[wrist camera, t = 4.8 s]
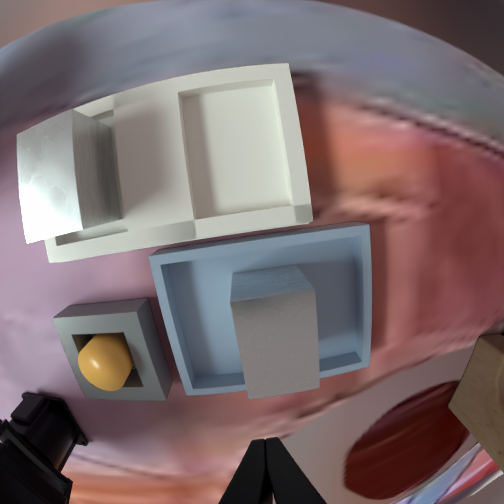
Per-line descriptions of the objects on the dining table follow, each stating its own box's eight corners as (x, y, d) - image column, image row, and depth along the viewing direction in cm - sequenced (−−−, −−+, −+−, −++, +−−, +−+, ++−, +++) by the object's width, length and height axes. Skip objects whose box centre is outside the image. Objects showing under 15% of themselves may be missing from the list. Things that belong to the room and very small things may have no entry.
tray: (360, 353, 20) (369, 366, 18) (190, 380, 20) (186, 395, 18) (357, 221, 18) (369, 224, 16) (157, 250, 18) (148, 256, 16)
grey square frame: (172, 380, 20) (166, 400, 18) (97, 381, 20) (86, 398, 18) (147, 297, 19) (136, 311, 16) (68, 305, 19) (52, 318, 16)
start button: (144, 367, 19) (132, 391, 16) (104, 368, 19) (89, 390, 16) (129, 325, 18) (114, 345, 16) (88, 327, 18) (70, 346, 15)
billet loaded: (122, 219, 17) (82, 229, 12) (72, 230, 17) (26, 243, 12) (111, 127, 15) (71, 108, 10) (62, 144, 15) (16, 134, 10)
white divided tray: (305, 221, 18) (313, 225, 16) (66, 259, 18) (50, 266, 16) (282, 73, 16) (287, 59, 14) (50, 128, 16) (33, 123, 14)
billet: (302, 345, 19) (319, 387, 15) (246, 354, 19) (248, 399, 15) (295, 263, 18) (315, 289, 13) (232, 273, 18) (230, 302, 13)
